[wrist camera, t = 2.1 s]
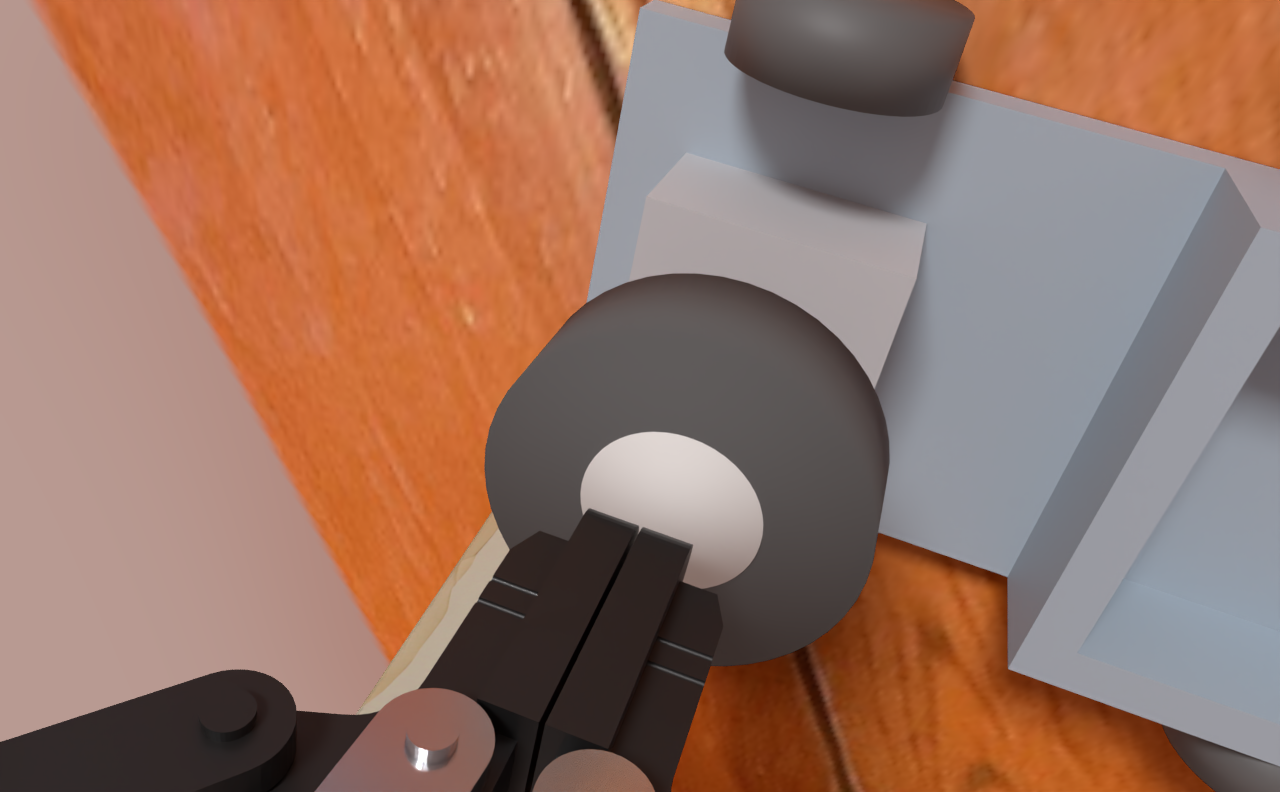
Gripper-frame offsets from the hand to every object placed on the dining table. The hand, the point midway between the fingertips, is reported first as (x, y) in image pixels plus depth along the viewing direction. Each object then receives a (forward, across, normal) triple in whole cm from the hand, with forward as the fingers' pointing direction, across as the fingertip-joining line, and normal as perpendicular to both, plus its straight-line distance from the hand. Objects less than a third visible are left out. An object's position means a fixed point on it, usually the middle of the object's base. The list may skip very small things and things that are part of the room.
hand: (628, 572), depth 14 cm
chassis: (+10, -6, 0) cm, 12 cm away
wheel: (+4, 0, 0) cm, 4 cm away
